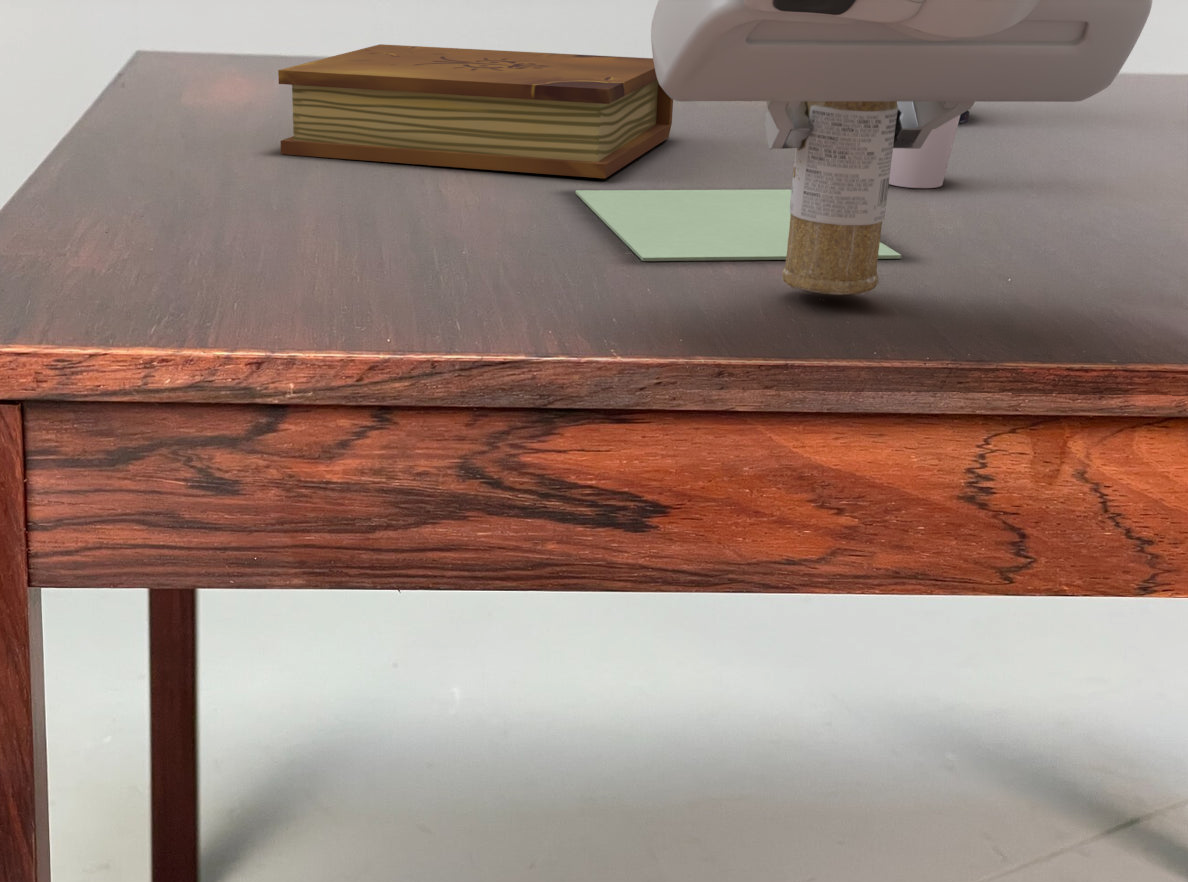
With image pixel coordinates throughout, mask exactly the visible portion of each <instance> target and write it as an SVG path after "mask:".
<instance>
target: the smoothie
mask: <svg viewBox="0 0 1188 882" xmlns="http://www.w3.org/2000/svg"><path fill="white" fill-rule="evenodd" d="M959 119H960V115H959V116H957V117H955V118H954V119H952V120H950V121H948V122H947V123H945V124H943V125H941V126H940V127H938V128H936V129H932V131H931V132H930V134H929V135H928V137H927V139H926V140H925V142H924V143H923V145H922V147H921V148H919V149H910V148H909V149H901V148H893V152H892V161H891V169H890V177H889V185H891V186H895V187H901V188H911V189H933V188H940V187H942V186H943V183H944V180H945V177H946V172H947V169H948V164H949V161H950V157H951V153H952V149H953V145H954V141H955V137H956V135H957V130H958V126H959V124H960V123H959Z"/></svg>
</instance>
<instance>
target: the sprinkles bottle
mask: <svg viewBox="0 0 1188 882" xmlns="http://www.w3.org/2000/svg"><path fill="white" fill-rule="evenodd" d="M806 106H807V111H806V113H805V114H806V115H807V116H808V117H809V121H810V127H811V130H810V132H809V135H808V137H807V138H806V139H805V140H803V143H804V145H803V146H802V148H795V149H796V150H795V152H794V161H793V173H792V181H791V189H790V190H791V200H790V227H789V237H788V246H787V255H786V260H785V265H784V267H783V270H782V274H781V275H782V276H781V277H782V280H783V282H784V284H786V285H788V286H789V287H791V288H793V289H796V290H801V291H805V292H810V293H816V294H824V295H829V296H831V295H832V296H845V295H846V296H848V295H851V296H852V295H860V294H864V293H869V292H871V291H872V290H874V289H876V287H877V285H878V283H879V276H878V270H877V269H878V260H879V259H878V251H879V244H880V242H881V233H882V225H883V221H885V217H886V209H887V202H888V201H887V200H888V193H889V187H890V186H889V185H890V184H889V177H890V169H891V161H892V152H893V144H894V136H895V127H896V119H897V111H898V107H897V101H806Z"/></svg>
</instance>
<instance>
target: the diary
mask: <svg viewBox="0 0 1188 882" xmlns="http://www.w3.org/2000/svg"><path fill="white" fill-rule="evenodd" d="M277 74H278V85H288V86H291V95H292V97H291V98H292V125H293V126H292V130H293V133H292V134H293V136H289V137H287V138H284V139H280V154H281V155H286V156H287V155H289V156H302V157H315V158H316V157H317V158H327V159H328V158H329V159H340V160H354V161H356V160H357V161H367V162H369V161H370V162H383V163H397V164H410V165H423V166H435V167H447V168H449V167H450V168H463V169H474V170H487V171H501V172H515V173H527V174H528V173H529V174H541V175H555V176H567V177H582V178H594V179H595V178H596V179H607V178H608V177H610V176H611V175H613V174H614V173H617V172H618V171H619V170H621V169H623V168H624V167H625V166H627V165H629V164H630V163H632V162H633V161H635V160H636V159H638V158H640V157H641V156H642V155H644V154H646V153H647V152H648V151H650V150H652V149H653V148H654V147H656V146H657V145H659V144H661V143H662V142H664V141H665V140H667V139H669V137H670V133H671V129H672V125H673V112H674V111H673V109H674V100H673V99H671V98H670V97H669V96H668V95H667V94H666V93H665V91H664V90H663V89H662V87H661V86H660V85H659V83H658V80H657V76H656V72H655V67H654V61H653V57H652V58H651V57H636V56H635V57H634V56H633V57H631V56H616V55H597V54H576V53H557V52H556V53H555V52H534V51H518V50H517V51H515V50H497V49H479V48H477V49H476V48H459V47H441V46H440V47H438V46H421V45H419V46H418V45H402V44H401V45H400V44H399V45H398V44H382V43H381V44H376V45H375V44H374V45H372V46H368V47H364V48H360V49H356V50H352V51H348V52H344V53H340V54H336V55H333V56H328V57H324V58H321V59H320V58H319V59H315V60H313V61H308V62H304V63H301V64H297V65H293V66H288V67H284V68H281V69H278V70H277Z"/></svg>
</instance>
